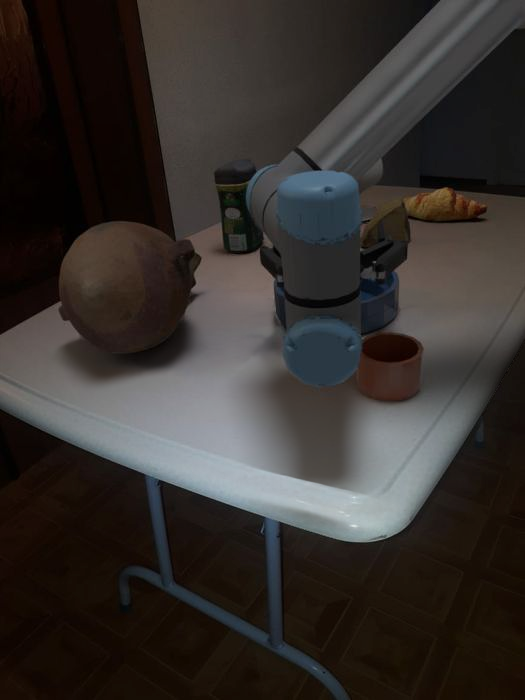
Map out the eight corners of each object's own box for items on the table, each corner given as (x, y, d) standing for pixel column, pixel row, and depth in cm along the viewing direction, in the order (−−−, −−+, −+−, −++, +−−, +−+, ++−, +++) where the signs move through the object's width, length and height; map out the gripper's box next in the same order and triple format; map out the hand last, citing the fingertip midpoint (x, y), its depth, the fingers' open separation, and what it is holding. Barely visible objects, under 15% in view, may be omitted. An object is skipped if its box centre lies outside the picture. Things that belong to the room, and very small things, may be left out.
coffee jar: (237, 238, 130) (227, 156, 120) (268, 240, 127) (260, 155, 117) (218, 253, 122) (206, 166, 113) (251, 255, 119) (241, 166, 110)
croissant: (391, 230, 135) (385, 205, 129) (403, 200, 139) (398, 175, 133) (482, 236, 124) (480, 209, 118) (493, 204, 128) (492, 177, 122)
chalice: (394, 212, 136) (395, 148, 128) (358, 228, 128) (357, 161, 121) (349, 204, 145) (348, 144, 138) (313, 219, 137) (310, 156, 130)
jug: (144, 387, 77) (229, 323, 103) (156, 250, 69) (245, 218, 95) (25, 347, 82) (134, 295, 109) (22, 214, 74) (142, 193, 101)
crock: (425, 376, 73) (428, 336, 70) (414, 410, 67) (416, 368, 64) (366, 367, 76) (366, 329, 73) (349, 400, 70) (349, 359, 67)
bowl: (408, 294, 95) (409, 261, 92) (381, 350, 80) (381, 312, 77) (301, 284, 103) (299, 254, 100) (258, 333, 88) (254, 299, 85)
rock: (351, 241, 114) (400, 238, 109) (354, 201, 115) (402, 196, 110) (367, 257, 123) (412, 254, 119) (369, 219, 124) (414, 215, 120)
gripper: (228, 323, 69) (255, 260, 88) (435, 320, 65) (418, 255, 83) (220, 266, 66) (250, 213, 84) (440, 259, 61) (421, 205, 80)
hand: (334, 234), depth 84 cm, fingers open, 13 cm apart
